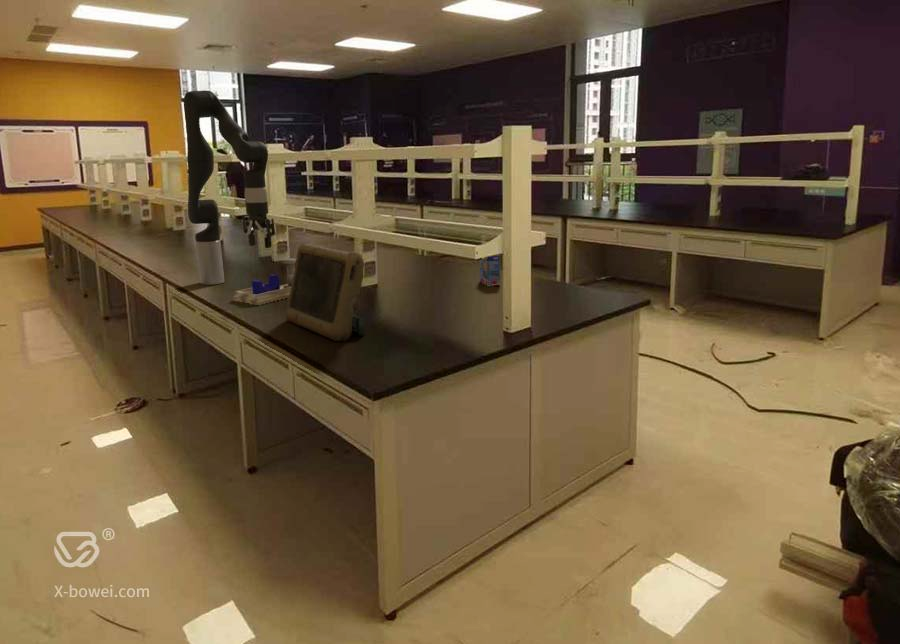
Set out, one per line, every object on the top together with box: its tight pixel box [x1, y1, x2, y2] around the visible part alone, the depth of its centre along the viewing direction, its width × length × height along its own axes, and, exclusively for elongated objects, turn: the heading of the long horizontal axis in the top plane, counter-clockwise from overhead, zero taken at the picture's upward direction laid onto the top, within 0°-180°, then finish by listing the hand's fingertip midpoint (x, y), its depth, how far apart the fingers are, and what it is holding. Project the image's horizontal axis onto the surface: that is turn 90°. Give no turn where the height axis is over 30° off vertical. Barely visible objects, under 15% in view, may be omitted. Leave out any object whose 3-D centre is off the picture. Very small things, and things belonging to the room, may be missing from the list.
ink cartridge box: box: [478, 254, 501, 285], centre depth 254 cm, size 10×6×14 cm, turn 18°
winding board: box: [232, 257, 297, 306], centre depth 238 cm, size 14×27×12 cm, turn 144°
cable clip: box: [251, 274, 281, 295], centre depth 234 cm, size 12×4×6 cm, turn 160°
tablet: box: [285, 240, 366, 342], centre depth 194 cm, size 33×14×25 cm, turn 45°
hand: (260, 246), depth 230 cm, fingers open, 8 cm apart
